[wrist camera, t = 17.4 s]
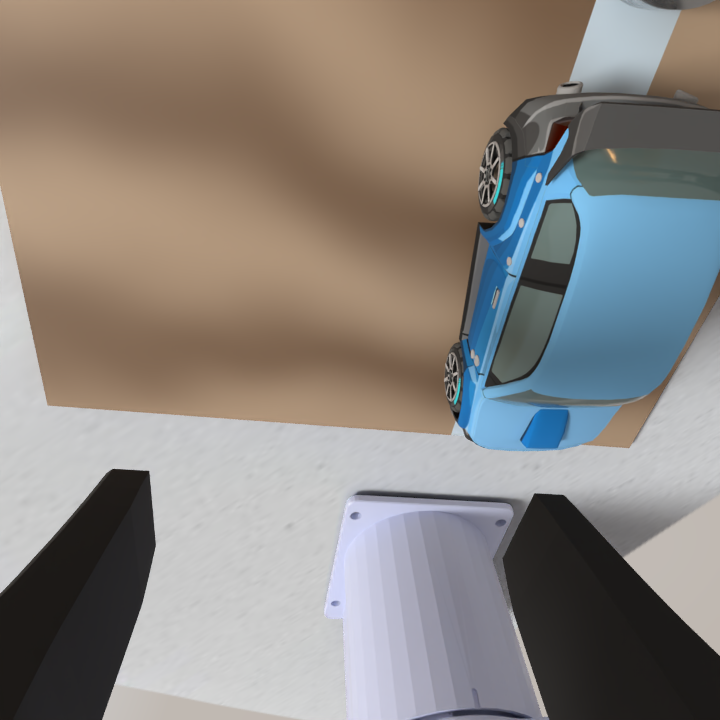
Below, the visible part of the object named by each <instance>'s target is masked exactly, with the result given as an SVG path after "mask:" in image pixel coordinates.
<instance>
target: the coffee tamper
mask: <svg viewBox="0 0 720 720" xmlns="http://www.w3.org/2000/svg"><path fill="white" fill-rule="evenodd" d="M621 1H622V2H623V3H625V4H627V5H629V6H632V7H635V8H639V9H656V10H684V9H692V8H697V7H700V6H703V5H706V4H709V3H711V2H713V1H715V0H621Z"/></svg>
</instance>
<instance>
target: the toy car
mask: <svg viewBox="0 0 720 720" xmlns="http://www.w3.org/2000/svg"><path fill="white" fill-rule="evenodd" d="M582 88H583V83H582V82H580V81H570V82H565V83H562V84H560V85H559V86H558V88H557V92H556V95H547V96H539V97H535V98H530V99H526V100H525V101H524V102H523V103H522V104H521V105H520V106H519V107H518V108H516V109H515V110H514V111H513V112H512V113H511V114H510V115H509V116H508V118H507V119H506V120H505V122H504V123H503V124H504V125H505V126H506V127H507V128H503V127H502V128H500V129H498V130H497V131H495V133H494V134H493V136H491V138H490V140H489V142H488V144H487V146H486V149H485V151H484V154H483V158H482V162H481V166H480V172H479V182H478V197H479V204H480V208H481V212H482V214H483V216H484V217H485V218H486V219H487V220H489V221H497V222H496V223H485V222H478V225H477V231H476V237H475V243H474V249H473V255H472V261H471V267H470V274H469V280H468V286H467V292H466V298H465V304H464V310H463V316H462V322H461V328H460V334H459V340H460V342H458V343H455V344H454V345H453V346H452V347H451V349H450V351H449V353H448V356H447V360H446V364H445V365H446V366H445V379H444V382H445V391H446V397H447V400H448V403H449V405H450V410H451V414H452V415H453V416H454V418H455V420H456V422H457V423H458V425H459V426H460V427H461V428H462V429H463V432H464V435H465V437H466V438H467V439H468V440H470V441H473V442H474V443H475V444H476V445H479V446H481V447H483V448H487V449H495V450H507V451H547V450H562V449H566V448H570V447H575V446H578V445H581V444H584V443H587V442H590V441H593V440H594V439H595V438H596V437H597V436H598V435H599V434H600V433H601V432H602V430H603V429H604V428H605V427H606V426H607V424H608V423H609V422H610V420H611V419H612V417H613V416H614V415H615V413H616V412H617V411H618V410H619V408H620V407H621V406H622V405H625V404H630V403H633V402H635V401H638V400H640V399H642V398H644V397H645V396H647V395H648V394H650V393H651V392H652V391H653V390H654V389H655V388H657V387H658V386H659V385H660V384H661V383H662V382H663V381H664V379H665V378H666V377H667V375H668V374H669V372H670V370H671V369H672V367H673V365H674V363H675V362H676V360H677V358H678V356H679V354H680V353H681V351H682V349H683V347H684V346H685V344H686V342H687V340H688V338H689V336H690V334H691V332H692V330H693V328H694V326H695V324H696V322H697V320H698V318H699V316H700V314H701V312H702V310H703V308H704V306H705V304H706V302H707V299H708V297H709V294H710V292H711V290H712V287H713V285H714V282H715V280H716V277H717V275H718V272H719V270H720V110H716V109H709V108H707V107H704V106H701V105H698V104H697V103H698V98H697V97H695V96H693V95H691V94H689V93H687V92H684V91H682V90H677V91H676V92H675V95H674V97H673V98H667V97H660V96H650V95H638V94H626V93H601V92H588V93H581V91H582Z"/></svg>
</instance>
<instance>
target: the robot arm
mask: <svg viewBox="0 0 720 720" xmlns="http://www.w3.org/2000/svg"><path fill="white" fill-rule="evenodd" d="M353 512H357V513H353ZM513 516H514V512H513V509H512V507H511V505H509V504H507V503H495V502H477V501H459V500H441V499H423V498H404V497H386V496H368V495H354V496H351V497H350V498H348V499H347V501H346V505H345V510H344V515H343V520H342V525H341V529H340V534H339V539H338V544H337V549H336V553H335V558H334V563H333V568H332V573H331V577H330V582H329V587H328V592H327V597H326V601H325V606H324V615H325V616H326V617H327V618H330V619H343V638H344V661H345V685H346V708H347V720H720V656H719V655H718V654H717V653H716V652H715V651H714V650H713V649H712V648H711V647H710V646H709V645H708V644H707V643H706V642H705V641H704V640H703V639H701V637H699V636H698V635H697V634H696V633H695V632H694V631H693V630H692V629H691V628H690V627H689V626H688V625H687V624H686V623H685V622H684V621H683V620H682V619H681V618H680V617H679V616H678V615H677V614H676V613H675V612H674V611H673V610H672V609H671V608H670V607H669V606H668V605H667V604H666V603H665V602H664V601H663V600H662V599H661V598H660V597H659V596H658V595H657V594H656V593H655V592H654V591H653V590H652V588H651V587H650V586H648V584H647V583H646V582H645V581H644V580H643V579H642V578H641V577H640V576H639V575H638V574H637V573H636V572H635V571H634V569H633V568H632V567H631V566H630V565H629V564H628V563H627V562H626V561H625V560H624V559H623V558H622V557H621V556H620V554H619V553H618V552H617V551H616V550H615V549H614V548H613V547H612V546H611V545H610V544H609V543H608V542H607V540H606V539H605V538H604V537H603V536H602V535H601V534H600V533H599V532H598V531H597V530H596V529H595V527H594V526H593V525H592V524H591V523H590V522H589V521H588V520H587V519H586V518H585V517H584V516H583V515H582V513H581V512H580V511H579V510H578V509H577V508H576V507H575V506H574V505H573V504H572V503H571V502H570V501H569V500H568V499H567V498H566V497H565V496H564V495H553V494H536V493H535V494H534V496H533V498H532V500H531V502H530V504H529V506H528V508H527V510H526V512H525V514H524V516H523V518H522V520H521V522H520V524H519V526H518V528H517V530H516V532H515V535H514V537H513V539H512V541H511V543H510V545H509V547H508V549H507V551H506V553H505V555H504V557H503V563H504V569H505V574H506V579H507V585H508V589H509V594H510V599H511V603H512V608H513V612H514V615H515V618H516V621H517V625H518V628H519V631H520V634H521V637H522V640H523V643H524V646H525V649H526V652H527V655H528V658H529V661H530V664H531V667H532V670H533V673H534V676H535V679H536V682H537V685H538V688H539V691H540V694H541V696H542V700H543V703H544V706H545V709H546V712H547V714H548V717H542V714H541V711H540V708H539V705H538V702H537V699H536V696H535V692H534V689H533V686H532V683H531V680H530V676H529V673H528V670H527V667H526V664H525V661H524V658H523V654H522V651H521V648H520V645H519V642H518V639H517V636H516V633H515V629H514V626H513V623H512V620H511V617H510V614H509V610H508V607H507V604H506V601H505V598H504V595H503V592H502V588H501V585H500V582H499V579H498V576H497V573H496V570H495V566H494V563H493V558H494V556H495V554H496V552H497V550H498V547H499V545H500V543H501V541H502V539H503V537H504V535H505V533H506V531H507V528H508V526H509V524H510V522H511V520H512V518H513ZM155 547H156V542H155V531H154V520H153V509H152V497H151V486H150V475H149V471H140V470H123V469H112V470H111V471H109V472H108V473H106V475H105V476H104V477H103V478H102V480H101V481H100V482H99V483H98V485H97V486H96V487H95V488H94V489H93V491H92V492H91V493H90V494H89V496H88V497H87V498H86V499H85V500H84V502H83V503H82V504H81V505H80V506H79V508H78V509H77V510H76V511H75V512H74V513H73V515H72V516H71V517H70V518H69V519H68V520H67V522H66V523H65V524H64V525H63V526H62V527H61V528H60V530H59V531H58V532H57V533H56V534H55V535H54V536H53V538H52V539H51V540H50V541H49V542H48V543H47V544H46V545H45V546H44V547H43V549H42V550H41V551H40V552H39V553H38V554H37V555H36V556H35V557H34V558H33V559H32V561H31V562H30V563H29V564H28V565H27V566H26V567H25V568H24V569H23V570H22V571H21V573H20V574H19V575H18V576H17V577H16V578H15V579H14V580H13V581H12V582H11V583H10V584H9V585H8V586H7V587H6V588H5V589H4V590H3V591H2V592H1V593H0V720H102V718H103V715H104V712H105V709H106V707H107V703H108V701H109V698H110V695H111V692H112V689H113V687H114V684H115V681H116V678H117V675H118V672H119V669H120V667H121V664H122V661H123V658H124V655H125V652H126V649H127V646H128V644H129V641H130V638H131V635H132V632H133V629H134V626H135V623H136V620H137V617H138V614H139V611H140V609H141V606H142V602H143V598H144V594H145V590H146V586H147V582H148V578H149V573H150V569H151V564H152V560H153V555H154V551H155Z"/></svg>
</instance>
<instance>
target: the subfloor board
mask: <svg viewBox="0 0 720 720" xmlns="http://www.w3.org/2000/svg"><path fill="white" fill-rule="evenodd" d="M570 81H580V82H582V83H583V88H582V91H581V93H588V92H601V93H626V94H638V95H650V96H660V97H667V98H673V97H674V95H675V92H676V91H677V90H682V91H684V92H687V93H689V94H691V95H693V96H695V97H697V98H698V103H697V104H698V105H701V106H704V107H707V108H709V109H716V110H720V0H715V1H713V2H711V3H709V4H706V5H703V6H700V7H697V8H692V9H684V10H656V9H639V8H635V7H632V6H629V5H627V4H625V3H623V2H622V1H621V0H0V186H1V191H2V195H3V200H4V205H5V209H6V214H7V219H8V223H9V228H10V232H11V237H12V242H13V246H14V251H15V256H16V260H17V265H18V270H19V274H20V279H21V283H22V288H23V293H24V297H25V302H26V307H27V311H28V316H29V321H30V325H31V330H32V335H33V339H34V344H35V348H36V353H37V358H38V362H39V367H40V372H41V376H42V381H43V386H44V390H45V395H46V399H47V404H48V405H50V406H63V407H77V408H90V409H104V410H118V411H131V412H145V413H159V414H172V415H186V416H200V417H213V418H227V419H240V420H254V421H268V422H281V423H295V424H309V425H322V426H336V427H349V428H363V429H377V430H390V431H404V432H418V433H431V434H445V435H458V436H465V435H464V432H463V429H462V428H461V427H460V426H459V425H458V423H457V422H456V420H455V418H454V416H453V415H452V414H451V410H450V405H449V403H448V400H447V397H446V391H445V382H444V379H445V366H446V365H445V364H446V360H447V356H448V353H449V351H450V349H451V347H452V346H453V345H454V344H455V343H458V342H460V340H459V334H460V328H461V322H462V316H463V310H464V304H465V298H466V292H467V286H468V280H469V274H470V267H471V261H472V255H473V249H474V243H475V237H476V231H477V225H478V222H485V223H496V222H497V221H489V220H487V219H486V218H485V217H484V216H483V214H482V212H481V208H480V204H479V197H478V182H479V172H480V166H481V162H482V158H483V154H484V151H485V149H486V146H487V144H488V142H489V140H490V138H491V136H493V134H494V133H495V131H497V130H498V129H500V128H502V127H503V128H507V127H506V126H505V125H504V124H503V123H504V122H505V120H506V119H507V118H508V116H509V115H510V114H511V113H512V112H513V111H514V110H515V109H516V108H518V107H519V106H520V105H521V104H522V103H523V102H524V101H525V100H526V99H530V98H535V97H539V96H547V95H556V92H557V88H558V86H559V85H560V84H562V83H565V82H570ZM719 295H720V270H719V272H718V275H717V277H716V280H715V282H714V285H713V287H712V290H711V292H710V294H709V297H708V299H707V302H706V304H705V306H704V308H703V310H702V312H701V314H700V316H699V318H698V320H697V322H696V324H695V326H694V328H693V330H692V332H691V334H690V336H689V338H688V340H687V342H686V344H685V346H684V347H683V349H682V351H681V353H680V354H679V356H678V358H677V360H676V362H675V363H674V365H673V367H672V369H671V370H670V372H669V374H668V375H667V377H666V378H665V379H664V381H663V382H662V383H661V384H660V385H659V386H658V387H657V388H655V389H654V390H653V391H652V392H651V393H650V394H648V395H647V396H645V397H644V398H642V399H640V400H638V401H635V402H633V403H630V404H625V405H622V406H621V407H620V408H619V410H618V411H617V412H616V413H615V415H614V416H613V417H612V419H611V420H610V422H609V423H608V424H607V426H606V427H605V428H604V429H603V430H602V432H601V433H600V434H599V435H598V436H597V437H596V438H595V439H594V440H593V441H590V442H587V443H584V444H581V445H595V446H608V447H622V448H629V447H630V446H631V444H632V442H633V441H634V439H635V437H636V436H637V434H638V432H639V430H640V429H641V427H642V425H643V424H644V422H645V420H646V419H647V417H648V415H649V414H650V412H651V410H652V409H653V407H654V405H655V403H656V402H657V400H658V398H659V397H660V395H661V393H662V392H663V390H664V388H665V387H666V385H667V383H668V381H669V380H670V378H671V376H672V375H673V373H674V371H675V370H676V368H677V366H678V365H679V363H680V361H681V359H682V358H683V356H684V354H685V353H686V351H687V349H688V348H689V346H690V344H691V343H692V341H693V339H694V337H695V336H696V334H697V332H698V331H699V329H700V327H701V326H702V324H703V322H704V321H705V319H706V317H707V316H708V314H709V312H710V310H711V309H712V307H713V305H714V304H715V302H716V300H717V299H718V297H719Z"/></svg>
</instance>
